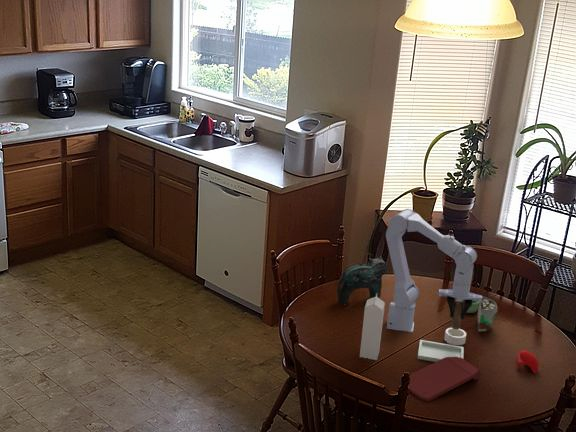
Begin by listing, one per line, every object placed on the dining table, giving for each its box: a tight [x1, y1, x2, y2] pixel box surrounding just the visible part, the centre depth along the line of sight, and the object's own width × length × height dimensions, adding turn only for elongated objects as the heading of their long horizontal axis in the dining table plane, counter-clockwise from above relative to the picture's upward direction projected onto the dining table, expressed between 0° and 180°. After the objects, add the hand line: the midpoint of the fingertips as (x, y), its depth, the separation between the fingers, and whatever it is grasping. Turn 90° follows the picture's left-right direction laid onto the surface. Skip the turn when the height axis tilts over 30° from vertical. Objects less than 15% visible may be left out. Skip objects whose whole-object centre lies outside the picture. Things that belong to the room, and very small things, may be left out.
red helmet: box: [515, 349, 539, 374], centre depth 236 cm, size 8×6×6 cm
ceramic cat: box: [336, 253, 387, 306], centre depth 274 cm, size 20×6×20 cm, turn 114°
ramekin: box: [455, 298, 479, 314], centre depth 276 cm, size 9×9×4 cm
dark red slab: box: [408, 357, 480, 402], centre depth 226 cm, size 12×5×25 cm
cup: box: [444, 327, 467, 346], centre depth 251 cm, size 7×7×4 cm
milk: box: [359, 294, 386, 361], centre depth 236 cm, size 6×6×22 cm
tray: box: [417, 339, 465, 363], centre depth 241 cm, size 15×11×2 cm
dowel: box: [450, 299, 464, 329], centre depth 246 cm, size 3×3×10 cm
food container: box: [476, 296, 498, 333], centre depth 261 cm, size 12×6×10 cm, turn 168°
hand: (456, 317), depth 247 cm, fingers closed on dowel, 3 cm apart
